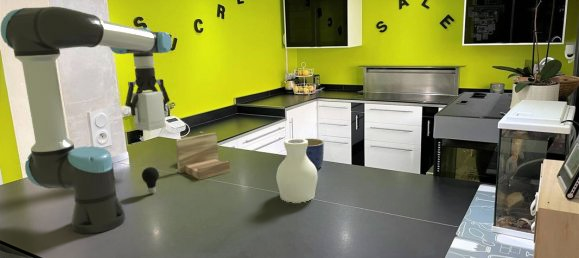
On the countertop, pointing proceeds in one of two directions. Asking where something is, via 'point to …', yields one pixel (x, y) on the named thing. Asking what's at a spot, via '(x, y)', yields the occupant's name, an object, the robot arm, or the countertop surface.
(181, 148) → the cleat board
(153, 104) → the supplement box
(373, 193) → the countertop surface
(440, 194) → the countertop surface
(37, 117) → the robot arm
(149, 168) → the light bulb
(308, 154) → the planter
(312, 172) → the vase
